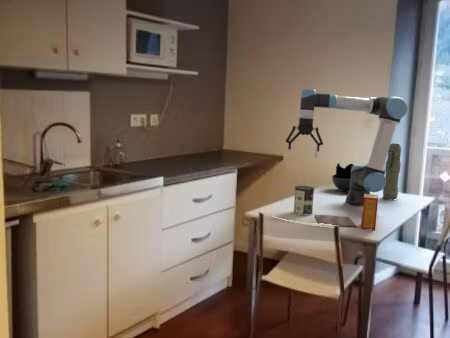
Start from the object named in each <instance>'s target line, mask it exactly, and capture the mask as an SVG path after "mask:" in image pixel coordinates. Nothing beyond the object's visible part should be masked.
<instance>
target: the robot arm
mask: <svg viewBox="0 0 450 338" xmlns="http://www.w3.org/2000/svg"><path fill="white" fill-rule="evenodd" d="M315 108H322V109H323V108H324V109H336V110H347V111H354V112H355V111H356V112H364V113H365V112H366V114H368V115H375V116H378V118H377V119H378V121H379V124H378V129H377V132H376V136H375V139H374V143H373V145H372V149H371V153H370V157H369V160H368V163H366V164H364V165H354V166H352V169H351V179H350V190H349V192H347V196H346V198H345V203H346V204H348V205H350V206H356V207H363V201H364V194H371V193H378V192H380V191H382V190H383V188H384V186H385V184H386V178H385V177H386V171H385V169H386V168H385V165H386V162H387V158H388V151H389V147H390V144H392V140H393V137H394V133H395V130H396V127H397V126H398V125H399V124H401V119H403V117H405V116H406V114H407V113H408V105H407V102H406V100H405V99H404V98H402V97H399V96H378V97H377V96H376V97H373V96H369V97H366V98H365V97H358V96H357V97H354V96H348V95H347V96H344V95H336V94H333V93H319V92H318V93H317V92H316V89H314V88H311V89H310V88H303V89H302V90H301V93H300V106H299V118H298V126H296V125H293V126H292V129H291V131H290V133H289V134H288V136H287V137H286V139H285V142H286V143H287V144H288V146H287V147H288V150H289V156H290V157H292V154H293V142H294V141H295V140H296V139H297V138H298V137H299V136H300V135H302V136H310V137H311V138H312V140H313V141H314V143H315V144H316V145H315V148H314V158H315V159H317V158H318V157H317V155H318V152H320V146H323V145H324V142H323V140H322V139H323V138H322V137H321V135H320V132H319V127H318V126H316V127H314V115H315V114H314V113H315ZM297 130H298V132H297V133H296V134H295V135H293V134H294V132H295V131H297ZM313 131H314V132H315V134H316V136H317V138H318V140H317V139H316V137H315V135H314V133H312V132H313ZM292 136H293V137H292Z"/></svg>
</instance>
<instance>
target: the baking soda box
mask: <svg viewBox="0 0 450 338" xmlns="http://www.w3.org/2000/svg"><path fill="white" fill-rule="evenodd" d="M378 204H379V194H371V193H370V194H364V201H363V206H362V215H361V225H360V230H366V229H372V230H371V231H376V226H377V225H376V224H377V215H378V214H377V213H378Z"/></svg>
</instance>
